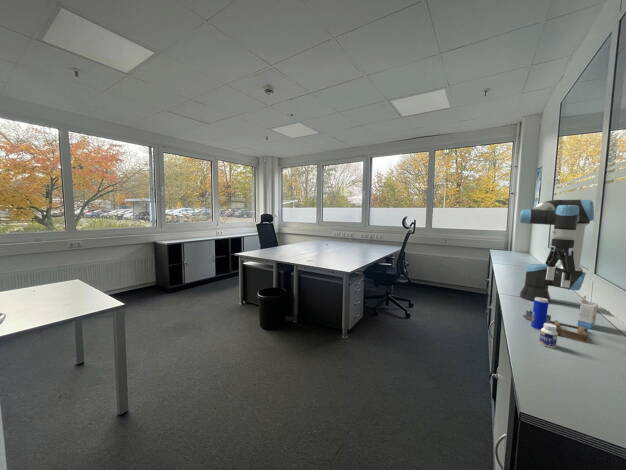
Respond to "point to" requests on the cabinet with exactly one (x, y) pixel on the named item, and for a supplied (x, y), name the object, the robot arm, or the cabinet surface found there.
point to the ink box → (587, 313)
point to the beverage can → (539, 313)
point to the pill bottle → (548, 335)
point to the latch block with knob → (529, 316)
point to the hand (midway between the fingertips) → (556, 283)
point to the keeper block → (572, 335)
